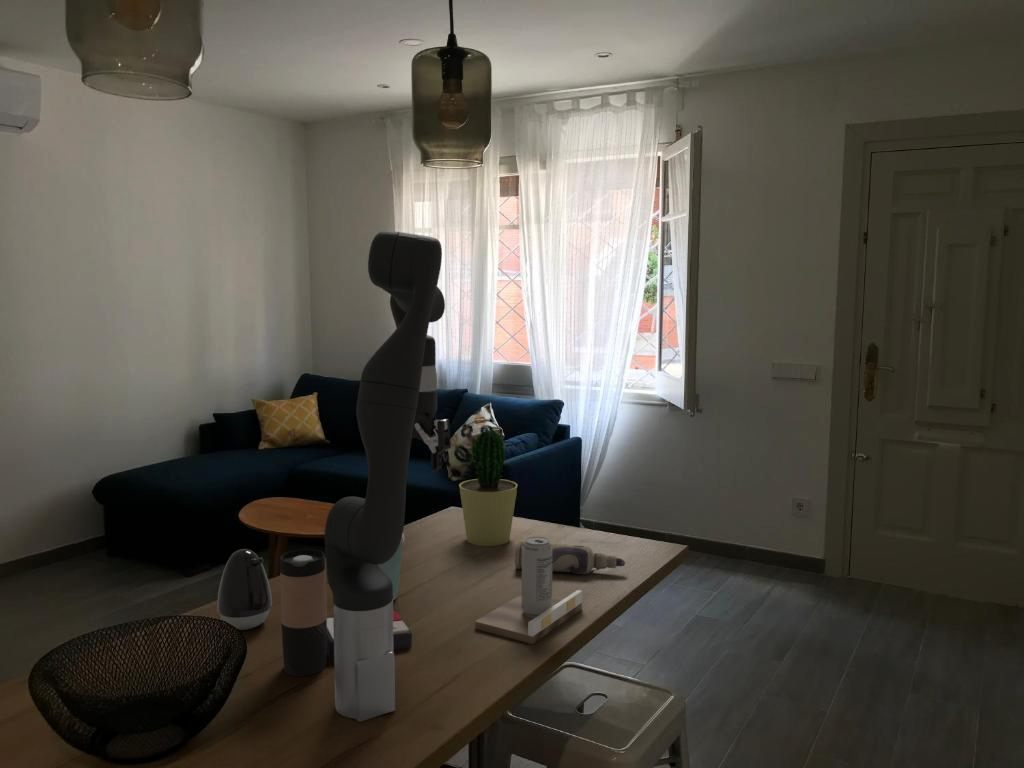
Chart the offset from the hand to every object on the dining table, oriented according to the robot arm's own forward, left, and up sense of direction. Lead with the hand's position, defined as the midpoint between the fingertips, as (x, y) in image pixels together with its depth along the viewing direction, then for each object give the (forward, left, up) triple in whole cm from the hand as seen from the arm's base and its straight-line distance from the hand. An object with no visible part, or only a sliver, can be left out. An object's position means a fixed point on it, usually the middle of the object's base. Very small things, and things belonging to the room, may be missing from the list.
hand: (418, 468), depth 163 cm
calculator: (-6, +15, -31) cm, 35 cm away
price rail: (-21, -19, -29) cm, 40 cm away
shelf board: (-15, -17, -30) cm, 38 cm away
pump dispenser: (+14, +31, -30) cm, 46 cm away
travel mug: (-10, +28, -30) cm, 42 cm away
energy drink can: (-17, -18, -29) cm, 38 cm away
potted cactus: (+34, -39, -30) cm, 60 cm away
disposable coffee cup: (+12, +3, -30) cm, 33 cm away
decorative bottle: (+3, -40, -30) cm, 50 cm away
